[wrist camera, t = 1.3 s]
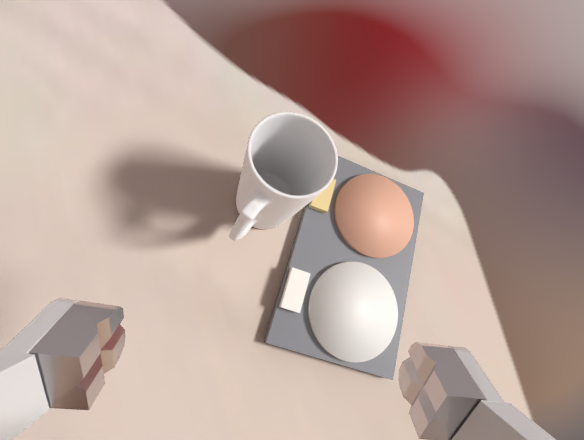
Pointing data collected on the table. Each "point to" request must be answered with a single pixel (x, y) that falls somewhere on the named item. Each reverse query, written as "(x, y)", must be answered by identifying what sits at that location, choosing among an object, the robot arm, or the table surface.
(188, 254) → the table surface
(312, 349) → the grey food tray
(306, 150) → the mug
